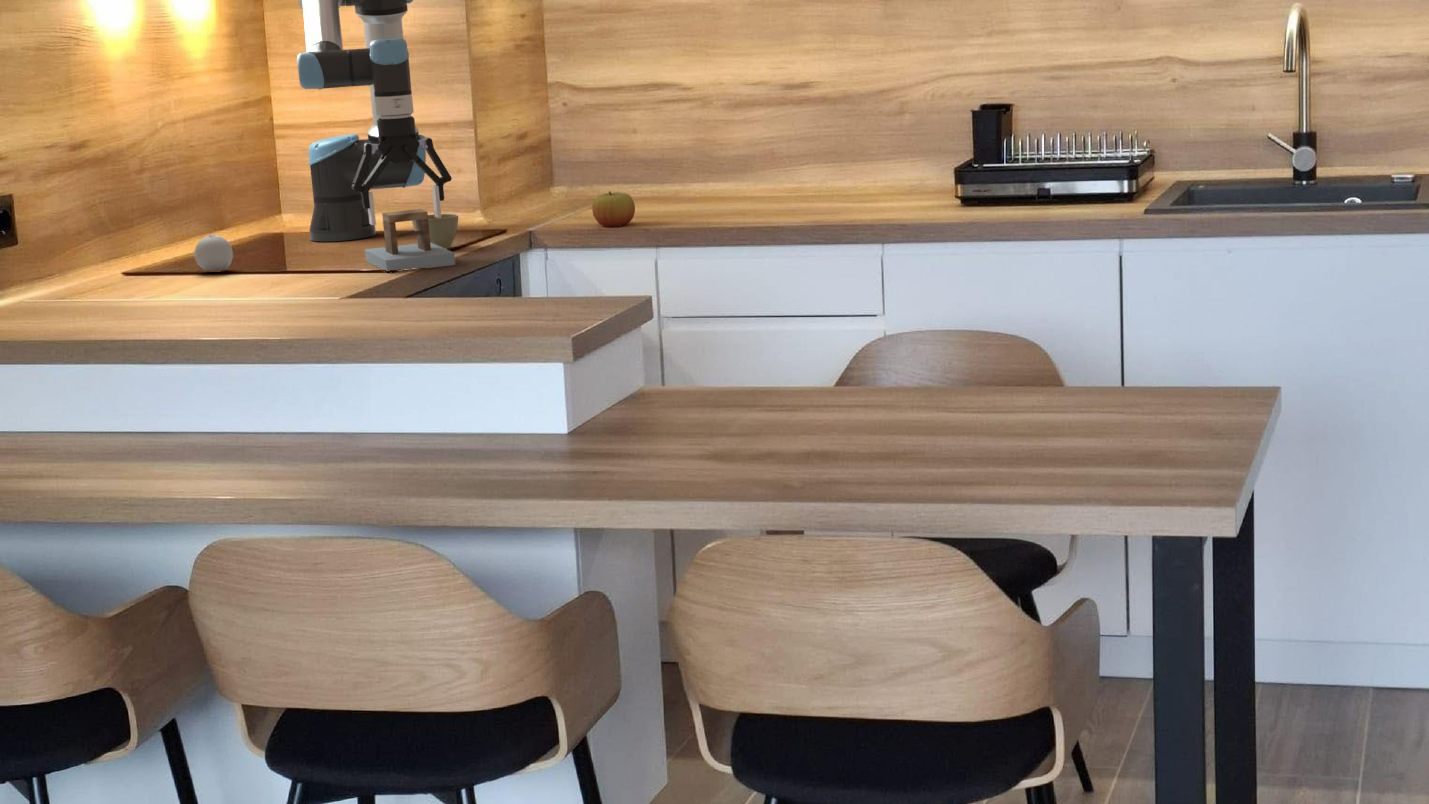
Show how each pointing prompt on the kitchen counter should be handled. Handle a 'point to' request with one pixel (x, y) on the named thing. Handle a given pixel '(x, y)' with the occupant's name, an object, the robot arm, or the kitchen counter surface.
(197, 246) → the grey ball
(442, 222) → the flower pot
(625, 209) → the apple
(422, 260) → the plinth
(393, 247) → the stool
